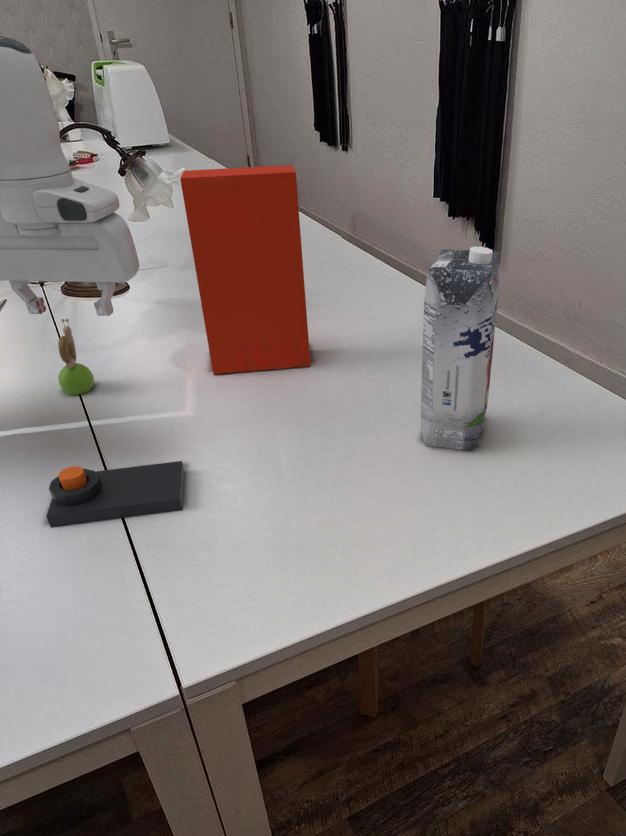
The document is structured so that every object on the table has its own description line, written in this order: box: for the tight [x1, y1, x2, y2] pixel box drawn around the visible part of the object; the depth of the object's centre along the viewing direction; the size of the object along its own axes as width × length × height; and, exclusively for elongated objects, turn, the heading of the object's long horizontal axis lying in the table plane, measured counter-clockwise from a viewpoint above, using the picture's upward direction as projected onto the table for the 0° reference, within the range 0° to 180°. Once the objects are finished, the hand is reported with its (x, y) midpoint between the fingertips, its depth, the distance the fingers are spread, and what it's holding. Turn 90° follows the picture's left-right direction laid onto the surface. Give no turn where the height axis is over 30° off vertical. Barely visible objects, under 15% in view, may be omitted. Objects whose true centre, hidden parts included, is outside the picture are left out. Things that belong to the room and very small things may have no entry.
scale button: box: [58, 465, 87, 490], centre depth 82 cm, size 3×3×2 cm
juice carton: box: [420, 246, 500, 452], centre depth 89 cm, size 9×10×27 cm
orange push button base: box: [46, 460, 186, 529], centre depth 84 cm, size 16×9×4 cm, turn 101°
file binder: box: [179, 164, 312, 375], centre depth 110 cm, size 8×17×32 cm, turn 99°
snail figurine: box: [57, 318, 95, 396], centre depth 107 cm, size 5×6×12 cm
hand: (71, 313), depth 85 cm, fingers open, 8 cm apart
